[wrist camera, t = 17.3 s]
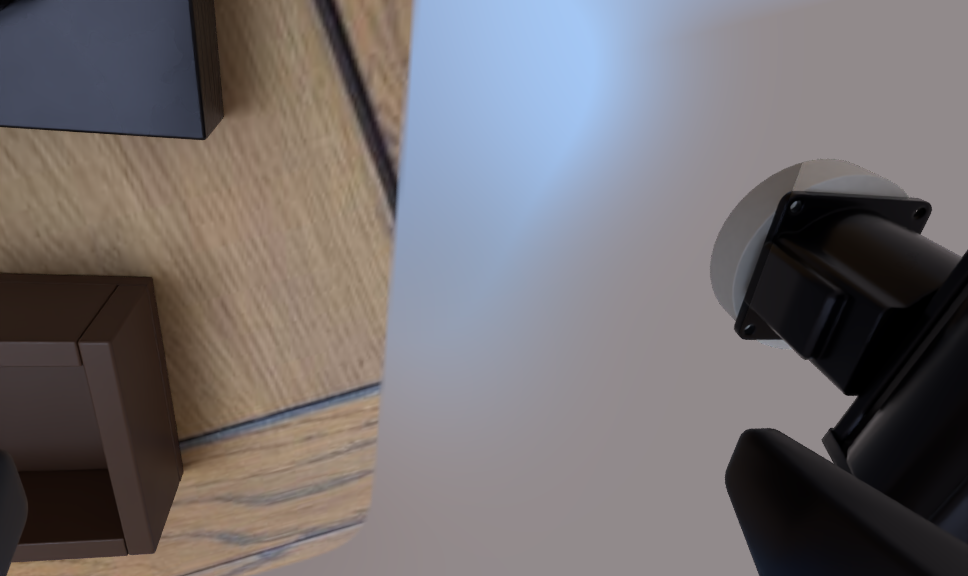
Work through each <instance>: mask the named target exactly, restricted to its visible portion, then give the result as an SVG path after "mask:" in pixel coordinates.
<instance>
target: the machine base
mask: <svg viewBox="0 0 968 576" xmlns="http://www.w3.org/2000/svg"><path fill="white" fill-rule="evenodd" d="M223 117H224V113H223V101H222V89H221V78H220V66H219V55H218V43H217V31H216V20H215V8H214V0H0V127H8V128H23V129H39V130H54V131H70V132H85V133H100V134H116V135H131V136H147V137H162V138H178V139H193V140H205V139H207V137H208V136H209V135H210V134H211V132H212V131H213V130H214V129H215V128H216V126H217V125H218V124H219V123H220V121H221V120H222V119H223Z"/></svg>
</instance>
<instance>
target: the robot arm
mask: <svg viewBox="0 0 968 576" xmlns="http://www.w3.org/2000/svg"><path fill="white" fill-rule="evenodd" d="M796 201H797V204H796V205H795V207H793V208H792V209H791V205H792V204H793V203H794V202H796ZM916 210H917V212H916ZM931 211H932V207H931V205H930V203H928V202H926V201H924V200H922V199H919V198H908V197H892V196H875V195H859V194H842V193H826V192H809V191H790V192H788V193H786V194H785V195H784V196H783V197H782V198H781V200H780V201H779V204H778V206H777V209H776V212H775V215H774V217H773V220H772V223H771V226H770V228H769V231H768V234H767V237H766V239H765V242H764V245H763V248H762V250H761V253H760V256H759V258H758V261H757V264H756V267H755V269H754V272H753V275H752V278H751V280H750V283H749V286H748V289H747V291H746V294H745V297H744V300H743V302H742V305H741V308H740V311H739V313H738V316H737V319H736V322H735V324H734V330H735V332H736V333H737V334H738V335H739V336H740V337H741V338H742V339H745V340H784V341H785V342H786V343H787V344H788V345H789V346H790V347H791V348H792V349H793V350H794V351H795V352H796V353H797V354H798V355H799V356H800V357H801V358H803V359H805V360H809V361H810V362H811V363H812V364H813V365H814V366H815V367H817V368H818V369H819V370H820V371H821V372H822V373H823V374H824V375H825V376H826V377H827V378H828V379H829V380H830V381H831V382H832V383H833V384H834V385H836V387H837V388H838V389H840V390H841V391H842V392H843V393H844V394H845V395H848V396H857V398H856V399H855V401H854V402H853V403H852V405H851V406H850V407H849V409H848V410H847V411H846V413H845V414H844V415H843V417H842V418H841V419H840V421H839V422H838V423H837V425H836V426H835V427H834V428H830V429H829V430H828V432H827V433H826V434H825V436H824V437H823V439H822V442H823V444H824V446H825V448H826V450H827V452H828V454H829V455H830V457H831V459H832V461H833V463H834V464H833V463H831V462H830V461H828V460H826V459H825V458H823V457H822V456H820V455H818V454H817V453H815V452H813V451H812V450H810V449H808V448H807V447H805V446H803V445H802V444H800V443H798V442H797V441H795V440H793V439H792V438H790V437H788V436H787V435H785V434H783V433H781V432H780V431H778V430H776V429H771V428H765V429H764V428H761V429H748V430H745V431H744V432H743V433H742V434H741V436H740V438H739V440H738V443H737V445H736V447H735V450H734V453H733V455H732V457H731V460H730V462H729V464H728V467H727V470H726V474H725V484H726V488H727V492H728V494H729V497H730V499H731V502H732V505H733V508H734V510H735V513H736V515H737V518H738V520H739V523H740V526H741V529H742V531H743V534H744V536H745V539H746V541H747V545H748V547H749V550H750V552H751V555H752V558H753V560H754V563H755V565H756V568H757V571H758V573H759V576H968V250H967V252H966V253H965V254H964V256H963V257H961V256H959V255H957V254H955V253H954V252H952V251H950V250H948V249H946V248H944V247H942V246H941V245H939V244H937V243H935V242H933V241H931V240H929V239H927V238H926V237H924V236H922V235H920V234H921V232H922V230H923V228H924V226H925V224H926V222H927V220H928V218H929V216H930V214H931ZM915 212H916V213H915ZM914 213H915V214H914ZM749 325H750V326H749ZM747 326H749V328H747V329H745V328H746V327H747ZM27 515H28V501H27V497H26V494H25V491H24V488H23V485H22V482H21V479H20V476H19V474H18V471H17V468H16V465H15V462H14V459H13V457H12V455H11V454H10V453H9V452H8V451H6V450H3V449H0V576H6V575H7V573H8V570H9V567H10V564H11V562H12V559H13V556H14V553H15V551H16V548H17V545H18V543H19V540H20V537H21V534H22V532H23V529H24V526H25V523H26V520H27Z"/></svg>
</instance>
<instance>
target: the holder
mask: <svg viewBox="0 0 968 576" xmlns="http://www.w3.org/2000/svg"><path fill="white" fill-rule="evenodd" d="M0 449H3V450H6V451H8V452H9V453H10V454H11V455H12V457H13V459H14V462H15V465H16V468H17V471H18V474H19V476H20V479H21V482H22V485H23V488H24V491H25V494H26V497H27V501H28V515H27V520H26V523H25V526H24V529H23V532H22V534H21V537H20V540H19V543H18V545H17V548H16V551H15V553H14V556H13V559H12V562H27V561H44V560H62V559H79V558H96V557H113V556H127V555H128V554H129V555H139V554H153V553H155V551H156V549H157V546H158V543H159V540H160V537H161V534H162V531H163V528H164V526H165V523H166V520H167V517H168V514H169V511H170V508H171V506H172V503H173V500H174V497H175V494H176V491H177V488H178V486H179V482H180V481H181V478H182V475H183V466H182V460H181V454H180V448H179V442H178V435H177V429H176V423H175V417H174V411H173V404H172V398H171V392H170V386H169V379H168V373H167V367H166V361H165V355H164V348H163V342H162V336H161V330H160V324H159V317H158V311H157V305H156V299H155V293H154V286H153V280H152V278H151V277H116V276H74V275H31V274H0Z"/></svg>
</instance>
